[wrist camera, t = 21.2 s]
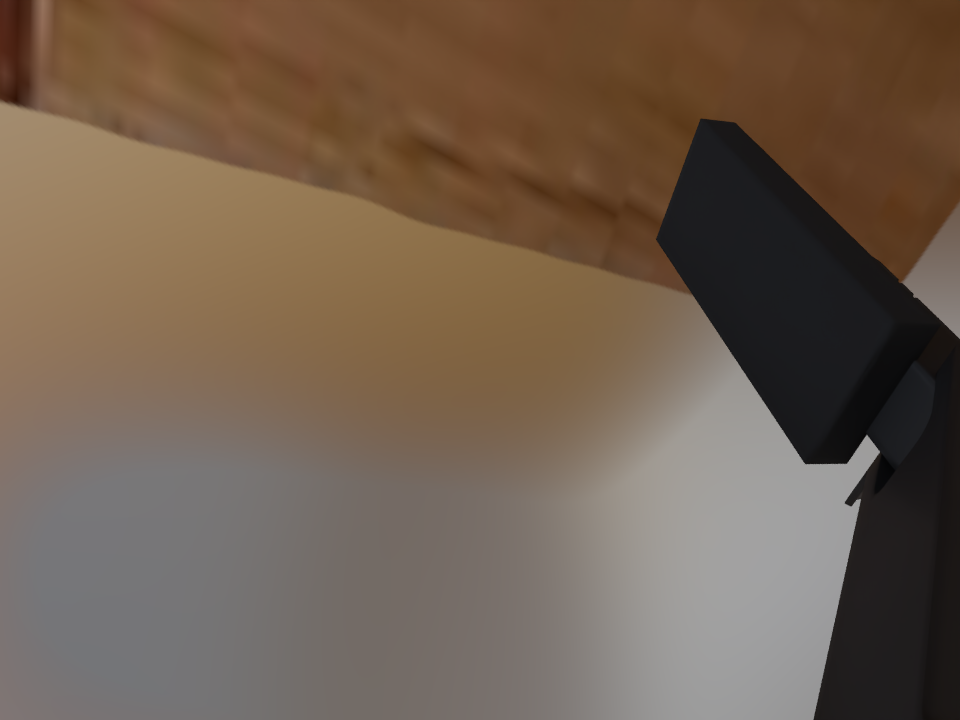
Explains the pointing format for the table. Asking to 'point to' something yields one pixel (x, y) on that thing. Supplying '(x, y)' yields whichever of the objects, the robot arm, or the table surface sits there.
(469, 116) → the table surface
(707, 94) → the table surface
